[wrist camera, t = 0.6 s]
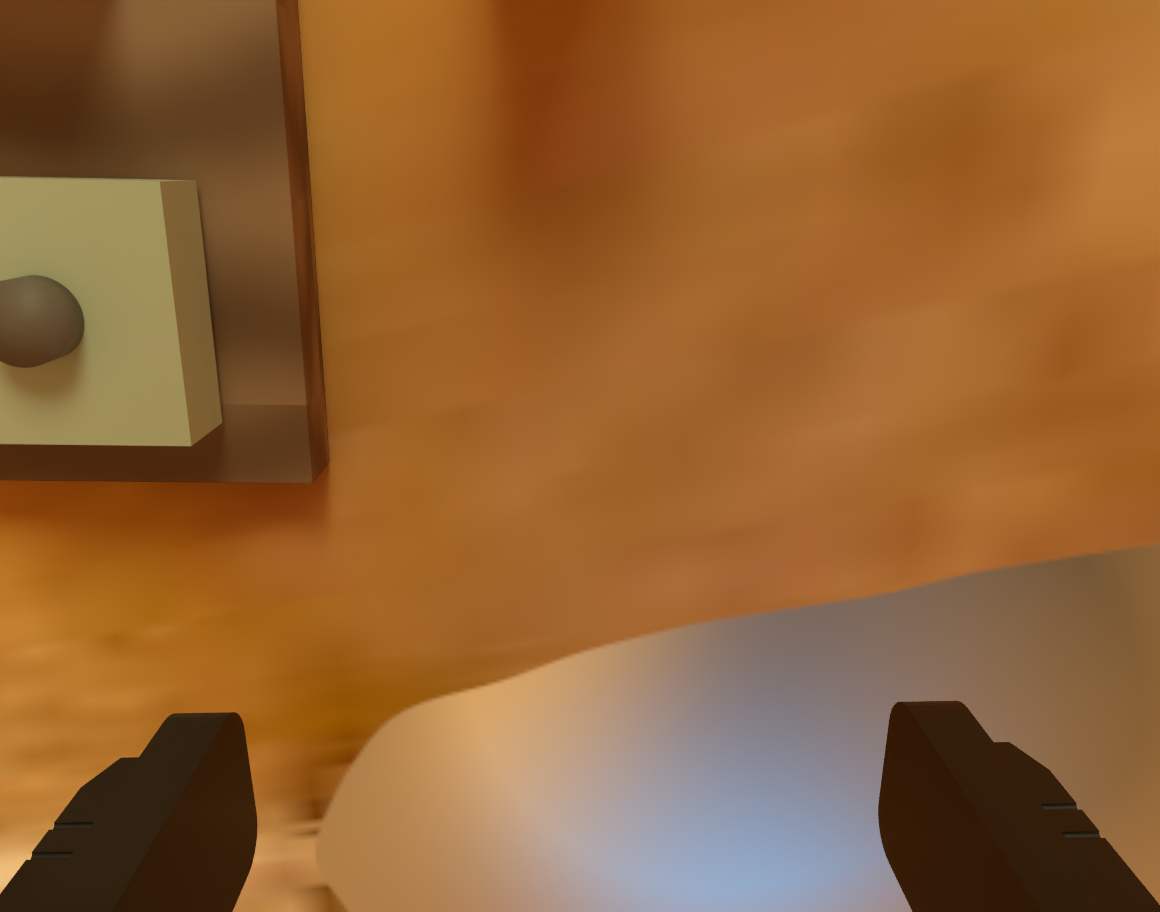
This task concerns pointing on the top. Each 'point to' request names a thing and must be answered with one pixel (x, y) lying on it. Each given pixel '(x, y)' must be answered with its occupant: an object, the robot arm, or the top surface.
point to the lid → (104, 313)
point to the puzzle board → (225, 193)
